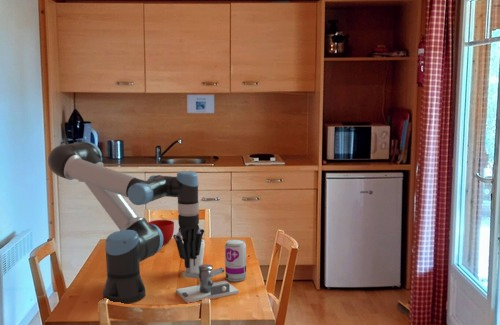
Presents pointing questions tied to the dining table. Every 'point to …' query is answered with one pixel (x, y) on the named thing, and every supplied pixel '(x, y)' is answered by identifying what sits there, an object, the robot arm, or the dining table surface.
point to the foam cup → (199, 257)
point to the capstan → (204, 276)
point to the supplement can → (235, 260)
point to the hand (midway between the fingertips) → (190, 275)
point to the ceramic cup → (165, 229)
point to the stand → (216, 291)
